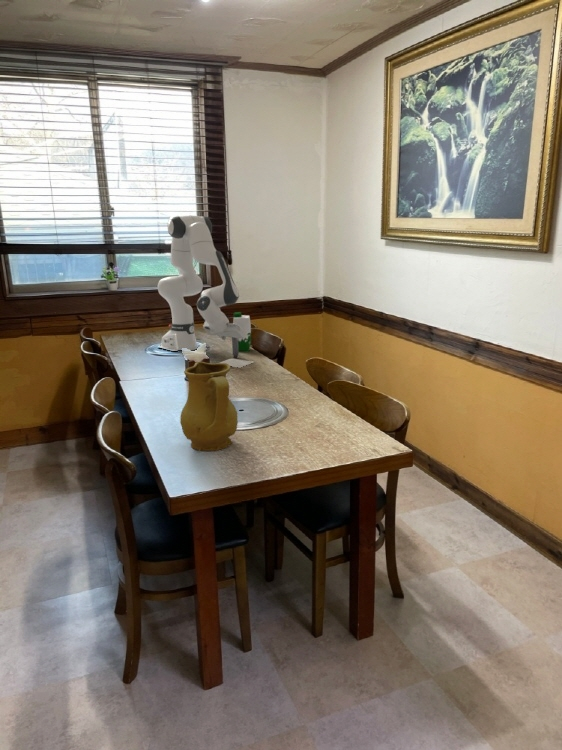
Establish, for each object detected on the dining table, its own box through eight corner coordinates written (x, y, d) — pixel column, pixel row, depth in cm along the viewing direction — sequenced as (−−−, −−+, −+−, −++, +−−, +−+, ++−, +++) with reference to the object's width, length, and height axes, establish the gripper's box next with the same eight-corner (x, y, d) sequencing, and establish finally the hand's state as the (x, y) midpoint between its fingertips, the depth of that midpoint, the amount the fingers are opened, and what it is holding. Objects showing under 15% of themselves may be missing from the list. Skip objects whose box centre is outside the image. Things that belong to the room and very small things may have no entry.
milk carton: (235, 348, 287) (233, 311, 281) (251, 348, 287) (250, 311, 281) (233, 352, 278) (232, 314, 273) (250, 351, 278) (249, 314, 273)
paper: (216, 364, 254) (216, 363, 254) (230, 359, 264) (230, 358, 264) (240, 368, 247) (240, 367, 247) (254, 362, 257) (254, 361, 257)
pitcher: (240, 430, 171) (235, 356, 163) (238, 457, 153) (231, 375, 145) (187, 433, 171) (179, 358, 163) (178, 460, 153) (169, 378, 145)
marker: (231, 357, 267) (230, 330, 263) (234, 356, 269) (233, 329, 265) (236, 358, 265) (235, 330, 261) (240, 357, 268) (239, 329, 264)
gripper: (239, 319, 248) (252, 335, 259) (205, 316, 258) (218, 332, 269) (234, 330, 245) (247, 346, 256) (199, 326, 256) (213, 342, 266)
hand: (232, 339), depth 263 cm, fingers open, 8 cm apart
